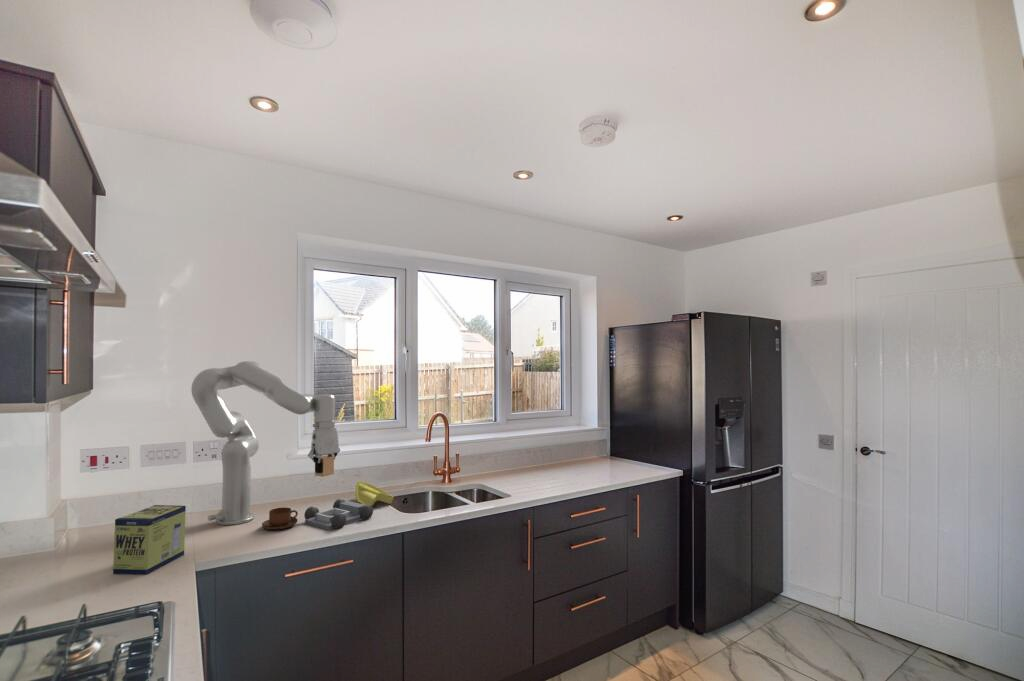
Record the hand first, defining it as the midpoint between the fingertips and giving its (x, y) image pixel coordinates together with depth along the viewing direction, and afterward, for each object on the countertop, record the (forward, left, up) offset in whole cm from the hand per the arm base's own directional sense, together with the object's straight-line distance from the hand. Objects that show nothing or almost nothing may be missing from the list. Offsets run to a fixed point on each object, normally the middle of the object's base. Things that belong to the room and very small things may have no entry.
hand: (324, 470), depth 198 cm
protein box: (-59, +3, -18) cm, 61 cm away
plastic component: (+26, +1, -18) cm, 32 cm away
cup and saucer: (-17, +3, -18) cm, 25 cm away
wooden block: (0, 0, -2) cm, 2 cm away
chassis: (0, -9, -18) cm, 20 cm away
